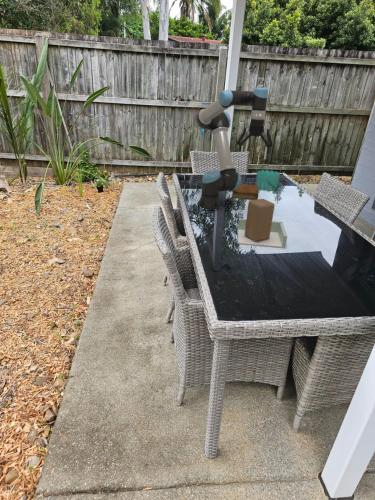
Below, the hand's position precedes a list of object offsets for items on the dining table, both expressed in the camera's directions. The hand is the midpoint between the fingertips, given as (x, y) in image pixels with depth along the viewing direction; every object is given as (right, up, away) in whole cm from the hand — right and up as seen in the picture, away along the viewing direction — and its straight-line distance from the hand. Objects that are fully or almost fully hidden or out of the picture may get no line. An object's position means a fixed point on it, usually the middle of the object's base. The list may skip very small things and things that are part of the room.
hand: (252, 158), depth 189 cm
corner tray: (+2, -47, -12) cm, 49 cm away
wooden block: (0, -47, -13) cm, 48 cm away
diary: (+6, -12, +60) cm, 62 cm away
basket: (+27, -2, +80) cm, 84 cm away
